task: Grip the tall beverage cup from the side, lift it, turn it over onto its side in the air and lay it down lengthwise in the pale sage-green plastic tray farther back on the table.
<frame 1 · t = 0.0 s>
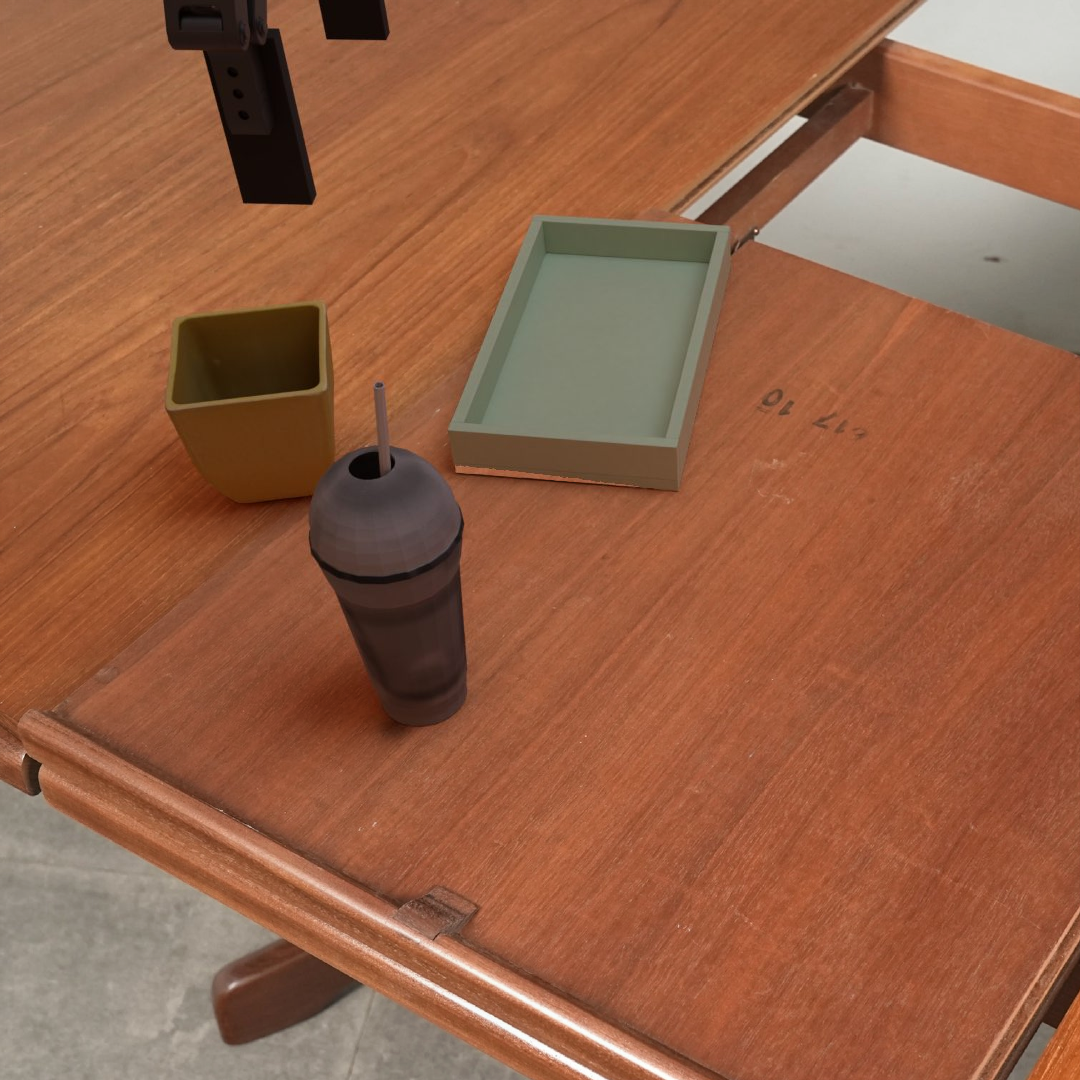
hand: (322, 113, 64), 29 cm above the table, tool pointing down, fingers open, 13 cm apart
tray: (602, 363, 100), on the table
flower pot: (283, 478, 93), on the table
beverage cup: (424, 696, 81), on the table
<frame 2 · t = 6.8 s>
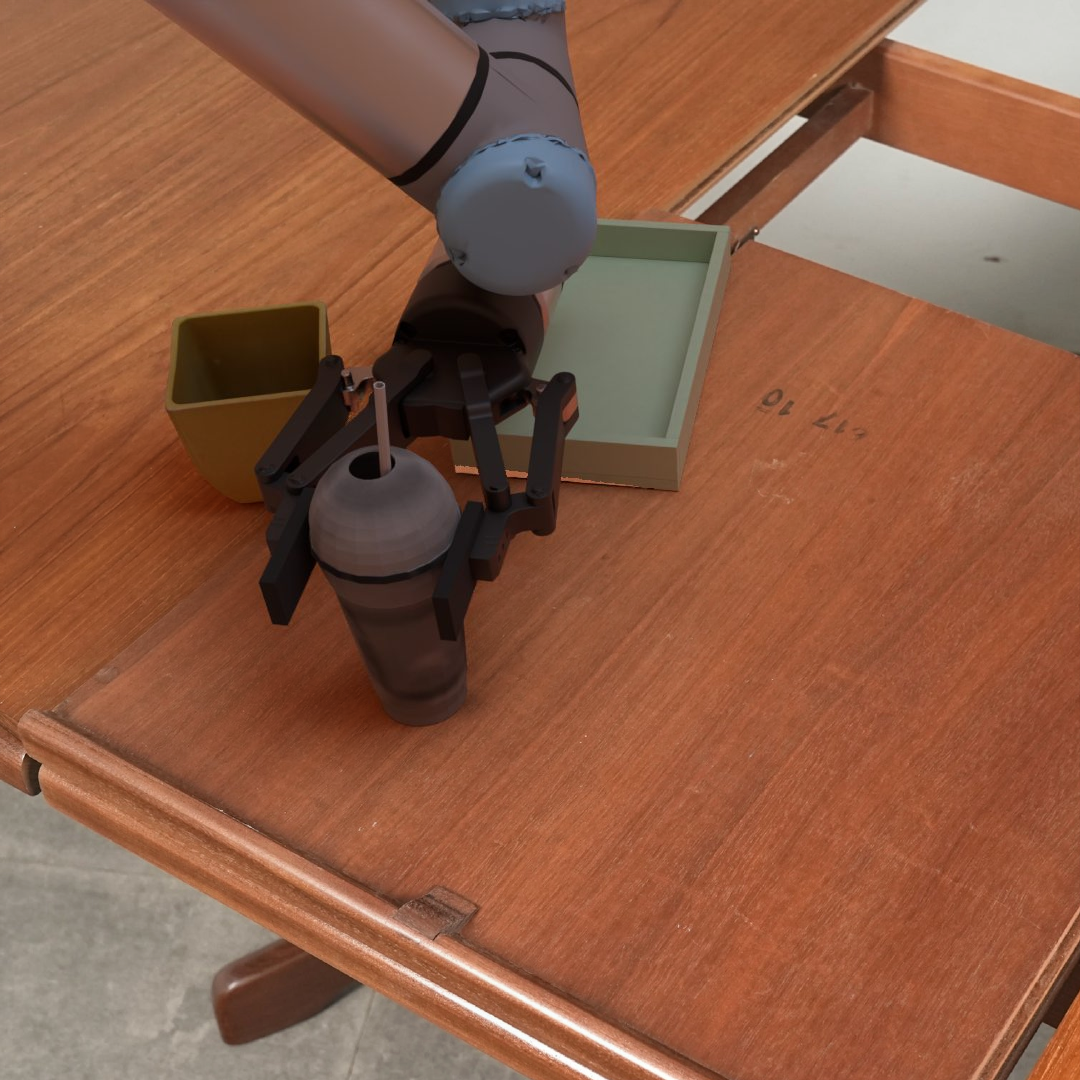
hand: (358, 611, 70), 11 cm above the table, tool horizontal, fingers closed on beverage cup, 7 cm apart
beverage cup: (424, 696, 81), on the table, touching gripper
everything else where it was.
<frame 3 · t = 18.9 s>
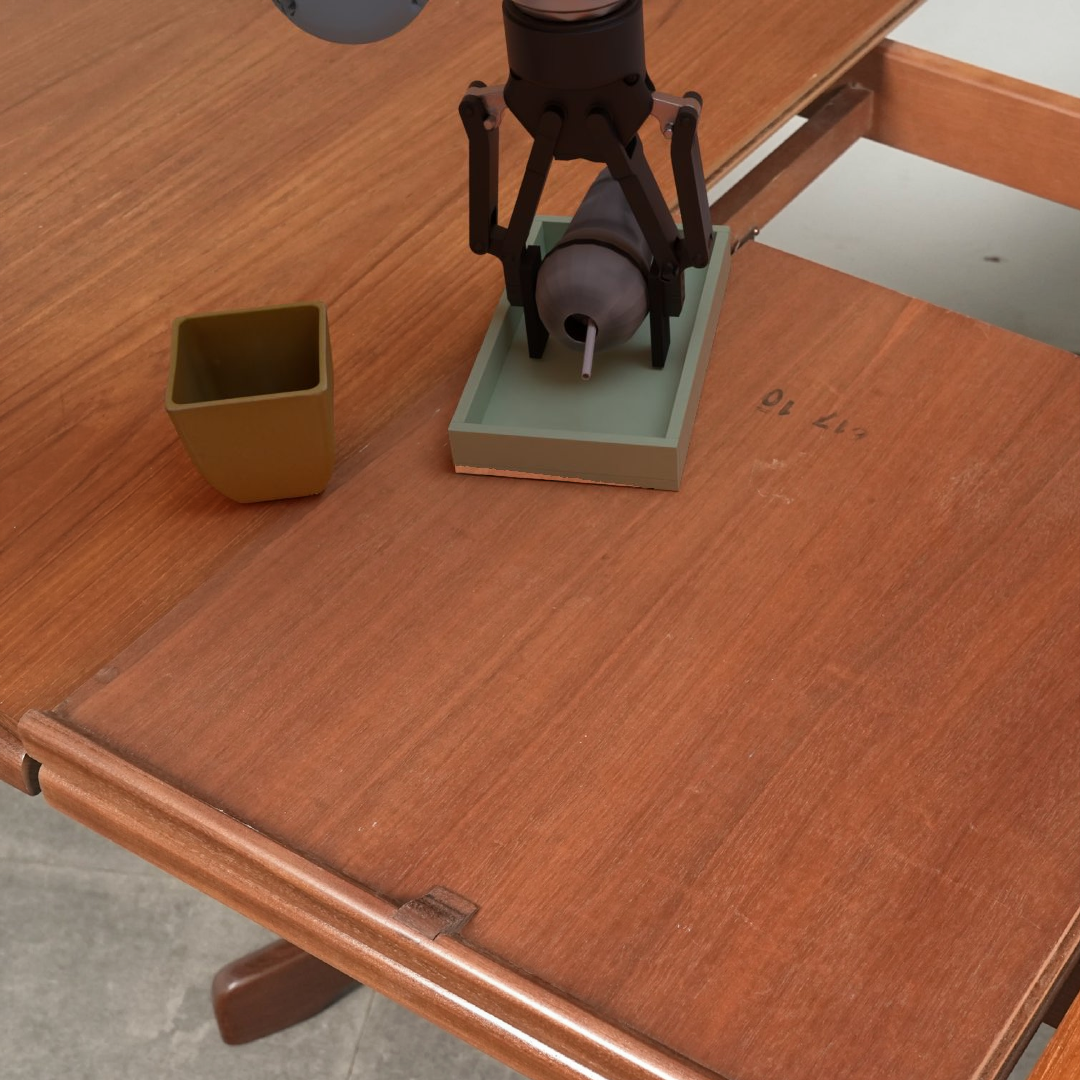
hand: (600, 349, 99), 1 cm above the table, tool pointing down, fingers closed on beverage cup, 7 cm apart
beverage cup: (627, 191, 103), point 6 cm above the table, touching gripper
everything else where it was.
when the fingers open (3 cm above the table, at t = 25.5 s): beverage cup stays where it is, resting on tray.
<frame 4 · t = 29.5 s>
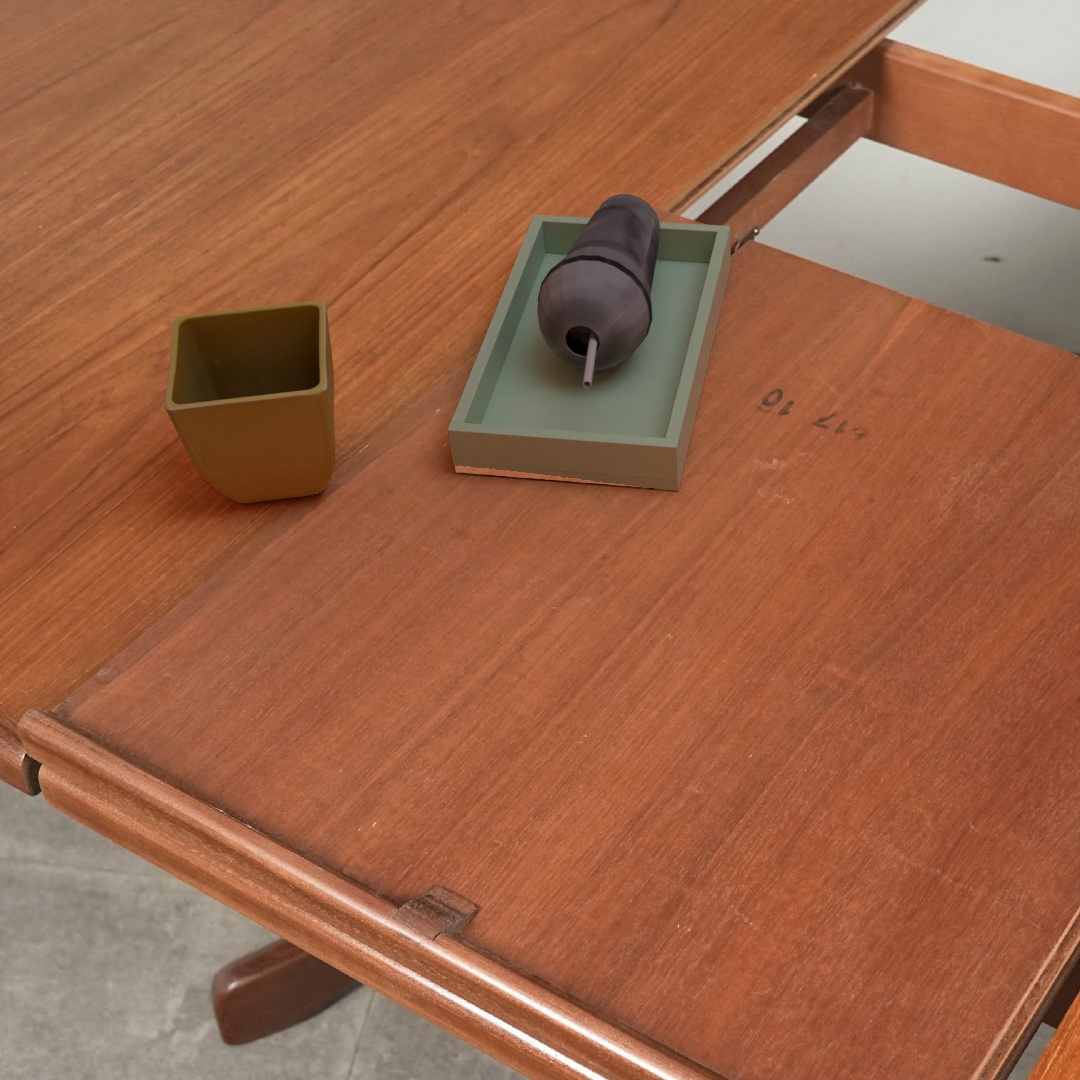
beverage cup: (628, 224, 105), point 3 cm above the table, touching tray
everything else where it was.
at the end: beverage cup tilted 85°; beverage cup inside the target area in the tray (11.2 cm from its centre), point 3.3 cm above the tray's base; the gripper is holding nothing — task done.
